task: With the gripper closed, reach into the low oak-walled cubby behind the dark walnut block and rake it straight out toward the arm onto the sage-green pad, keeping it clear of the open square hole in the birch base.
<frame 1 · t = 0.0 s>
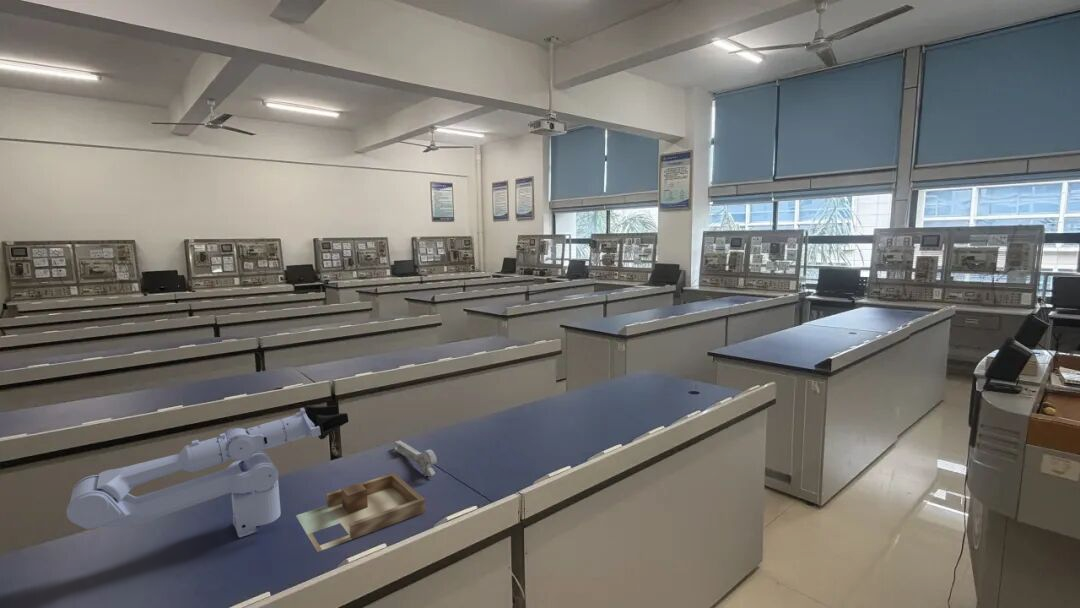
hand: (342, 413, 124), 22 cm above the table, tool horizontal, fingers open, 7 cm apart
cubby base: (361, 518, 116), on the table
wrench: (414, 465, 145), on the table
walnut block: (355, 506, 119), point 1 cm above the table, touching cubby base
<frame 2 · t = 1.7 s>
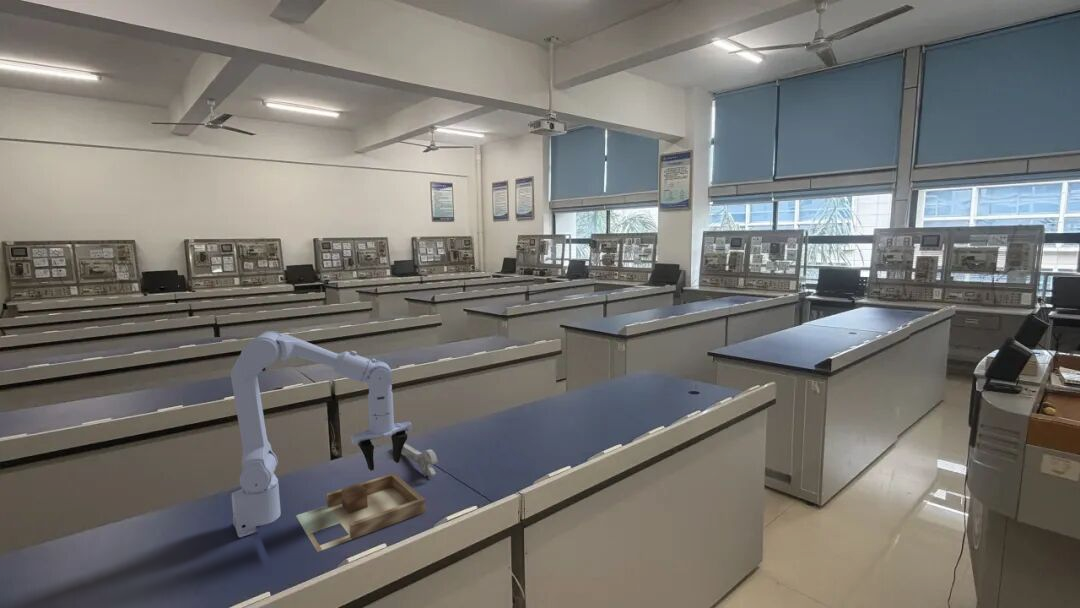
hand: (383, 465, 123), 9 cm above the table, tool pointing down, fingers open, 6 cm apart
nothing on the table moved.
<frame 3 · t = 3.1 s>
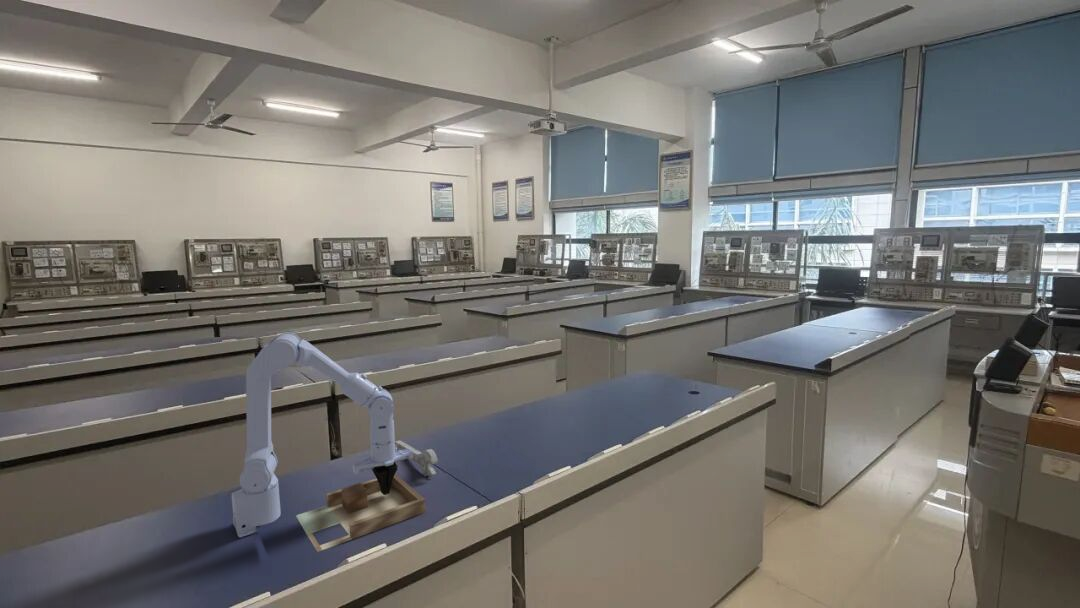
hand: (385, 492, 124), 2 cm above the table, tool pointing down, fingers closed
nothing on the table moved.
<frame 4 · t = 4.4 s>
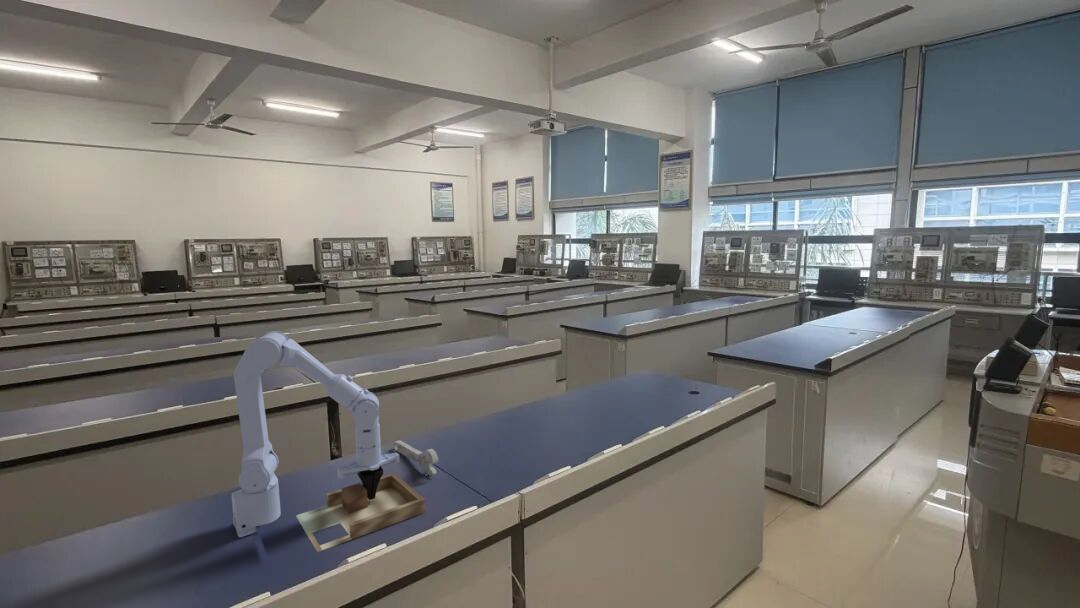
hand: (371, 497, 121), 2 cm above the table, tool pointing down, fingers closed
walnut block: (355, 506, 119), point 1 cm above the table, touching cubby base, gripper
everything else where it was.
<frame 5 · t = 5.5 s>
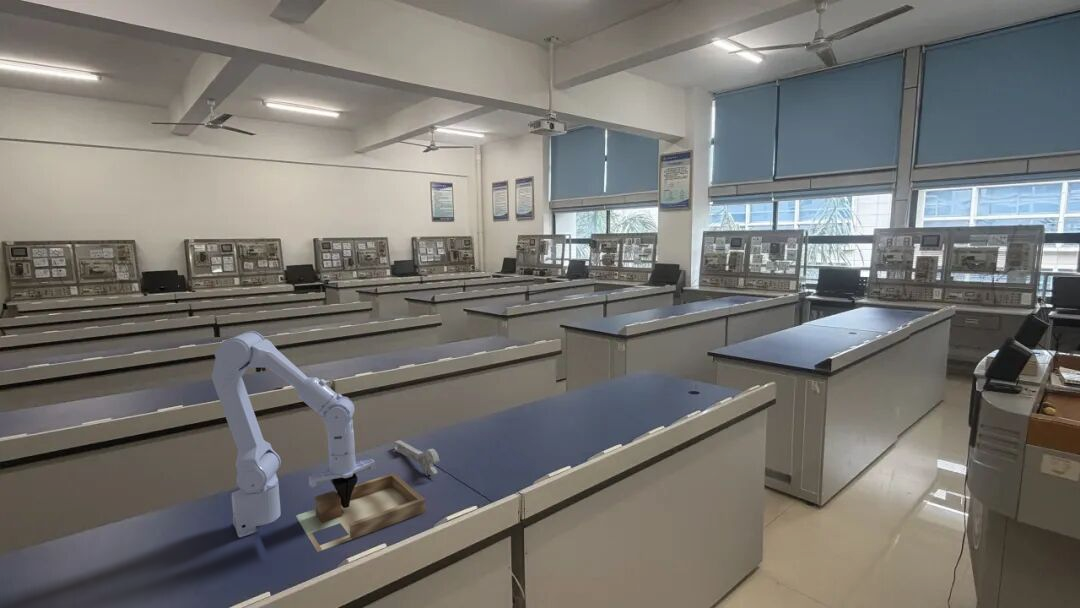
hand: (345, 505, 118), 2 cm above the table, tool pointing down, fingers closed
walnut block: (328, 515, 115), point 1 cm above the table, touching gripper
everything else where it was.
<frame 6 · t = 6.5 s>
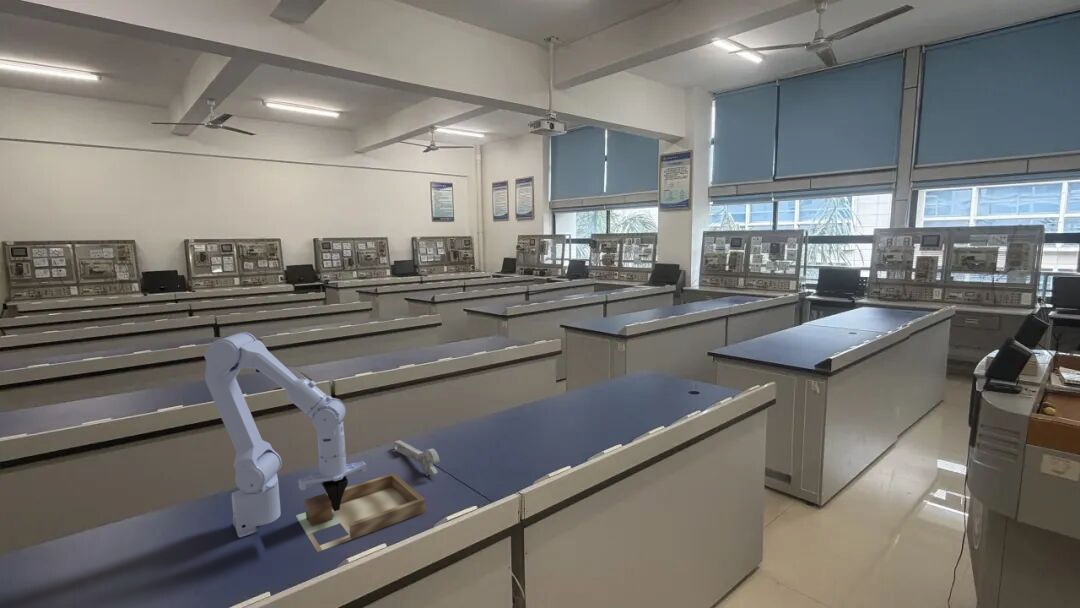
hand: (335, 508, 116), 2 cm above the table, tool pointing down, fingers closed
walnut block: (319, 518, 114), point 1 cm above the table, touching cubby base, gripper
everything else where it was.
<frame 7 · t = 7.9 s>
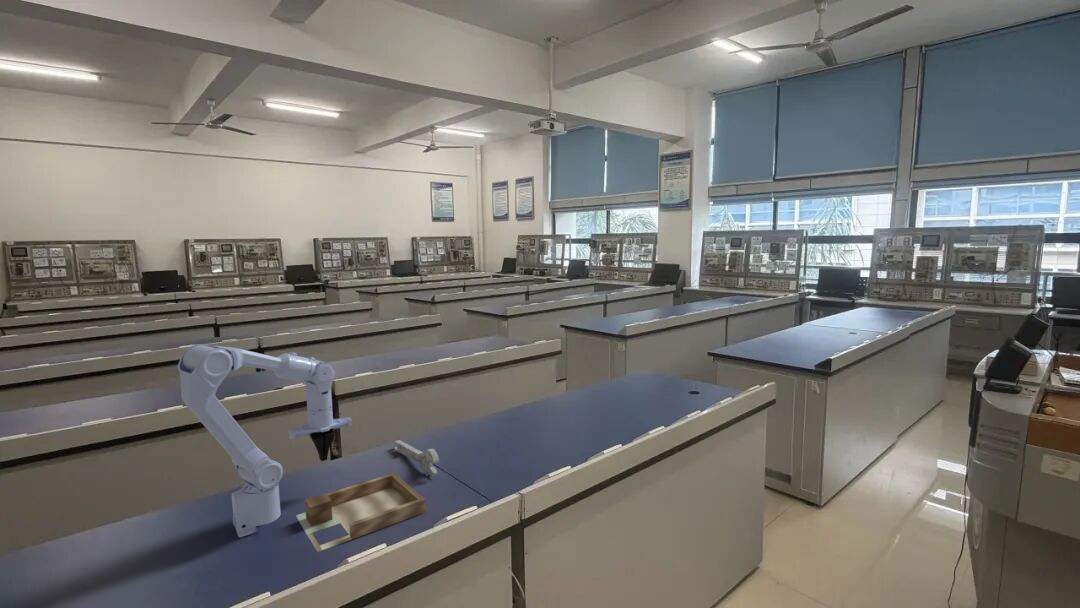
hand: (323, 459, 126), 9 cm above the table, tool pointing down, fingers closed
walnut block: (319, 518, 114), point 1 cm above the table, touching cubby base
everything else where it was.
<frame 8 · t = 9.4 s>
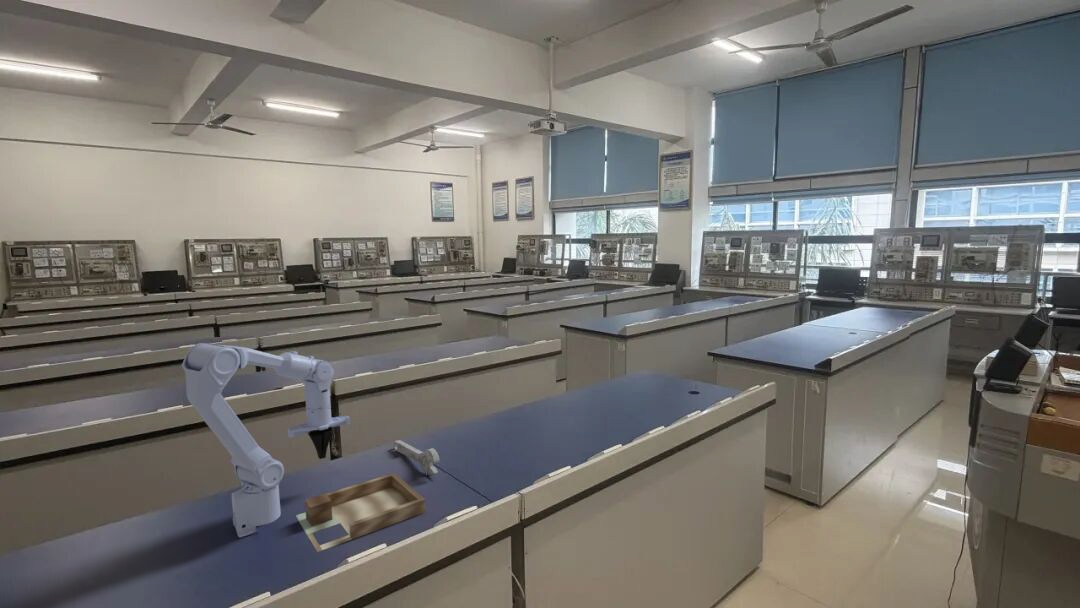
hand: (321, 457, 128), 9 cm above the table, tool pointing down, fingers closed
nothing on the table moved.
at the end: walnut block inside the target area (0.7 cm from its centre), point 1.2 cm above the table; walnut block tilted 0°; walnut block moved 8.1 cm from its start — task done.
